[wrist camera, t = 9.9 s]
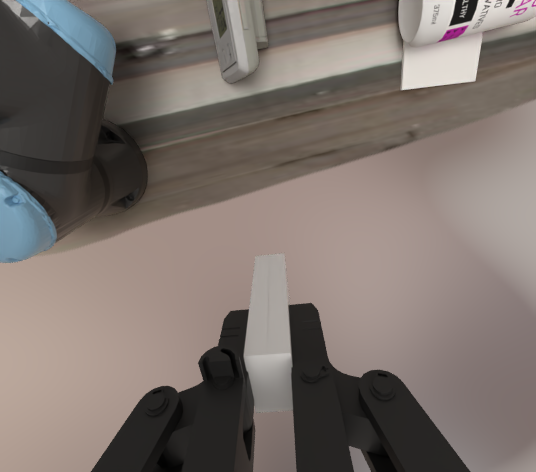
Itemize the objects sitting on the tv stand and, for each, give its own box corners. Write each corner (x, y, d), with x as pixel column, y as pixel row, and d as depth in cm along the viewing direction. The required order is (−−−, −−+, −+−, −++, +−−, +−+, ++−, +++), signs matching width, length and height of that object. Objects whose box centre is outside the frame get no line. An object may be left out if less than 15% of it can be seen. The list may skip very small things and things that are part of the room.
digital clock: (197, -68, 36) (168, -130, 26) (271, -65, 36) (270, -126, 26) (204, 82, 43) (184, 78, 33) (267, 85, 43) (265, 81, 33)
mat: (400, 90, 42) (401, 90, 42) (409, -57, 36) (412, -59, 35) (472, 81, 42) (475, 81, 41) (496, -70, 35) (499, -73, 35)
